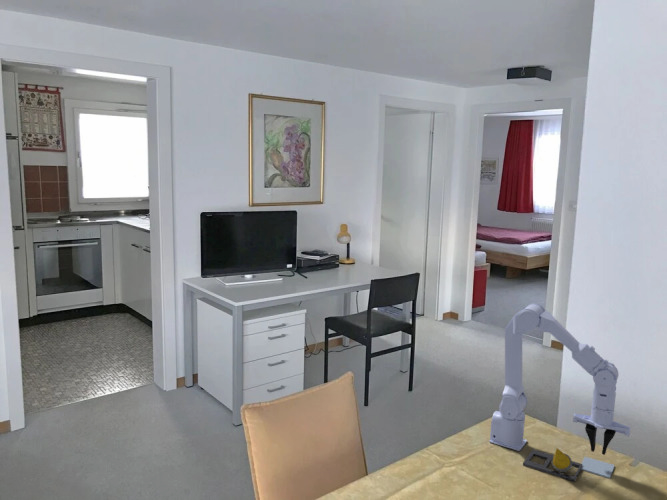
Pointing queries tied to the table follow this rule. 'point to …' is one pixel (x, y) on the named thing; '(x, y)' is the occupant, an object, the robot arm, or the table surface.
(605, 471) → the mat
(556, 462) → the yellow cone
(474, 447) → the table surface
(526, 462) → the rectangular frame
